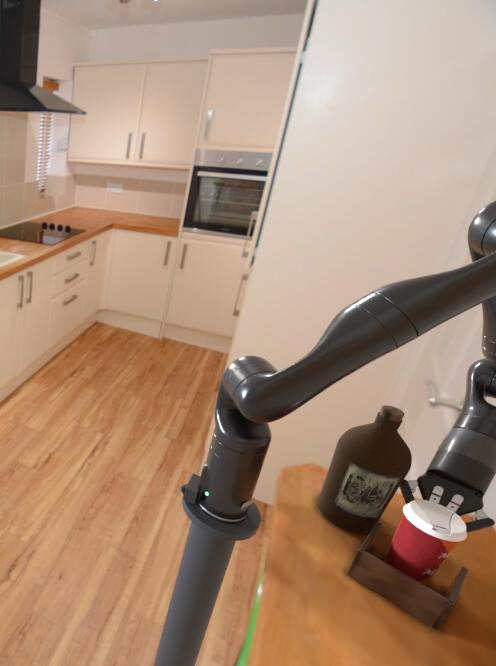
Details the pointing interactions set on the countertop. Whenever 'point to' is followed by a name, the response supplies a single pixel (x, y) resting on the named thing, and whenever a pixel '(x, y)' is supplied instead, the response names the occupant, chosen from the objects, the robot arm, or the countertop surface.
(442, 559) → the paper cup
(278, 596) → the countertop surface
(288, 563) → the countertop surface
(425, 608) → the holder
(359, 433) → the brown bottle
